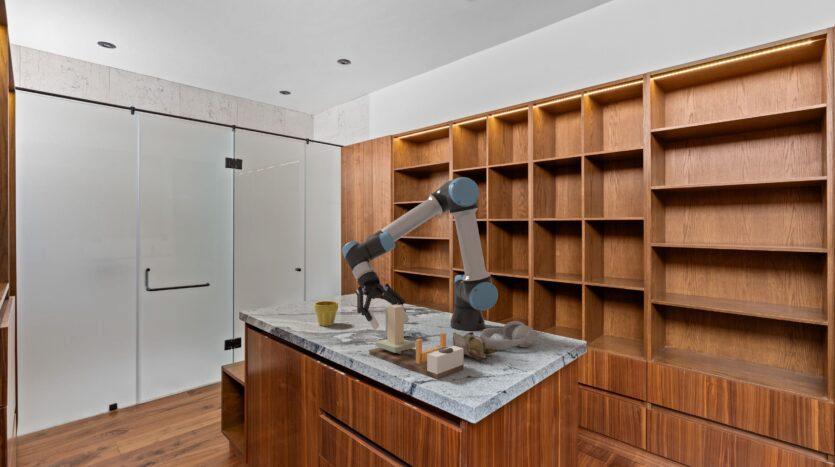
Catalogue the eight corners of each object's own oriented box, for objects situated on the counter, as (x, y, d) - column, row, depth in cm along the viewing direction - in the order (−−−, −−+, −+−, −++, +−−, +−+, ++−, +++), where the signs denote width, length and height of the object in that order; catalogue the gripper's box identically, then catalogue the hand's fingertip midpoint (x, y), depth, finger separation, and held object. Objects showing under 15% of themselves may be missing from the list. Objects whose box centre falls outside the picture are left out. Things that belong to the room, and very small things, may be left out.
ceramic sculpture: (460, 325, 145) (499, 333, 138) (458, 348, 146) (498, 358, 138) (446, 331, 136) (488, 341, 129) (445, 356, 137) (486, 367, 129)
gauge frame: (415, 362, 123) (415, 339, 122) (443, 353, 131) (443, 332, 131) (418, 363, 122) (418, 340, 122) (445, 354, 130) (446, 333, 130)
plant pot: (335, 327, 177) (335, 305, 177) (311, 327, 177) (311, 305, 177) (340, 321, 187) (340, 300, 187) (318, 321, 188) (317, 300, 187)
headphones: (521, 335, 163) (475, 344, 159) (518, 316, 163) (472, 325, 159) (544, 348, 145) (492, 359, 141) (541, 327, 145) (489, 337, 141)
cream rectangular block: (426, 370, 120) (426, 351, 119) (453, 361, 128) (453, 343, 128) (437, 374, 116) (437, 354, 116) (463, 364, 125) (463, 346, 125)
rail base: (369, 354, 139) (369, 347, 139) (395, 347, 148) (395, 340, 148) (437, 379, 117) (437, 370, 117) (463, 369, 125) (463, 361, 125)
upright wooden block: (376, 349, 139) (376, 305, 139) (395, 343, 145) (395, 302, 145) (395, 355, 132) (395, 309, 132) (415, 349, 138) (415, 306, 138)
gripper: (387, 280, 160) (413, 325, 149) (333, 286, 142) (357, 337, 132) (396, 268, 156) (423, 313, 145) (341, 272, 139) (367, 324, 128)
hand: (392, 324), depth 138 cm, fingers open, 13 cm apart
